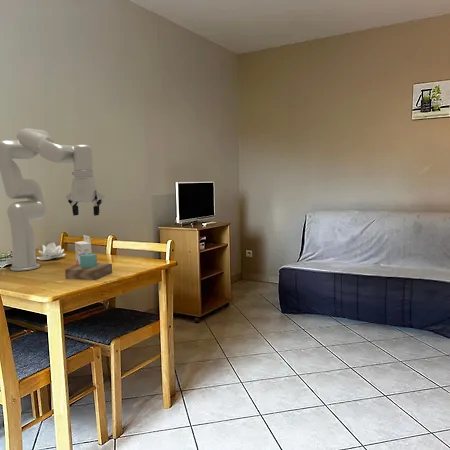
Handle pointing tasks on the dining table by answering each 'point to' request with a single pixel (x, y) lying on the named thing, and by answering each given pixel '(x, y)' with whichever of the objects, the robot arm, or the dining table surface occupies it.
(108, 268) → the walnut base block
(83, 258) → the teal cube
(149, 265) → the dining table surface
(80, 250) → the ink cartridge box
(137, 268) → the dining table surface
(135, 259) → the dining table surface
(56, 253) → the lotus flower
